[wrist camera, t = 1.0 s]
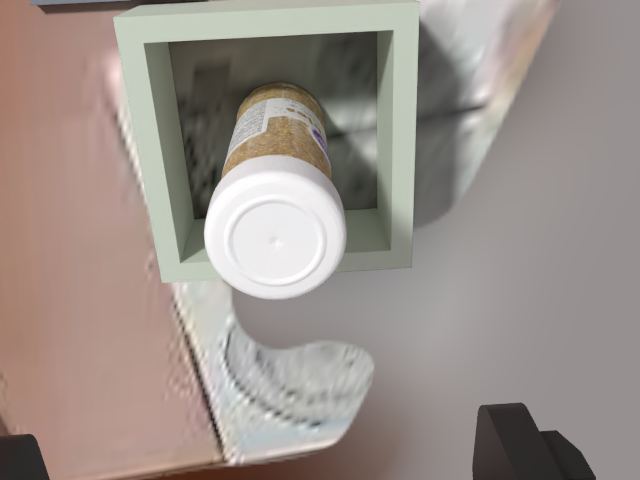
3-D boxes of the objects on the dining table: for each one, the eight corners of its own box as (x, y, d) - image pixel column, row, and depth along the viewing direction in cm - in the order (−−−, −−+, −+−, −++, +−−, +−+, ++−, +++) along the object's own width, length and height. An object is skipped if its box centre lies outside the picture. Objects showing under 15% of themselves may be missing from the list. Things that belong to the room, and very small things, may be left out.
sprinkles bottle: (342, 127, 31) (378, 247, 19) (276, 183, 32) (272, 329, 20) (281, 59, 29) (279, 143, 17) (215, 120, 31) (170, 239, 19)
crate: (398, -9, 28) (419, 2, 24) (394, 223, 34) (411, 267, 29) (140, 4, 28) (113, 17, 23) (178, 236, 33) (162, 283, 29)
